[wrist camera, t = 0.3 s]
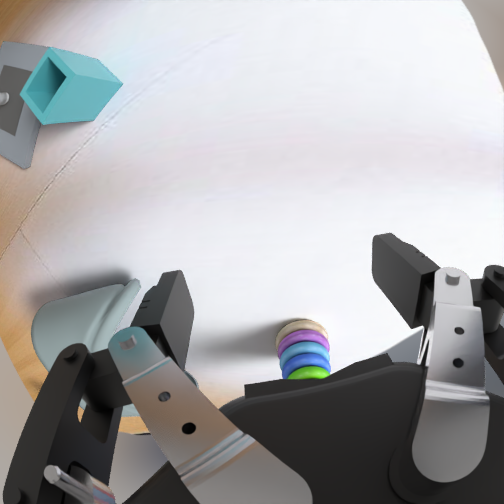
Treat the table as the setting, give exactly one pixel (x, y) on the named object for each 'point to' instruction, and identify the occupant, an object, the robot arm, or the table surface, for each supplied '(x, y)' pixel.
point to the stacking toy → (303, 350)
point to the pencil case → (84, 324)
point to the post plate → (17, 102)
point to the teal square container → (68, 87)
